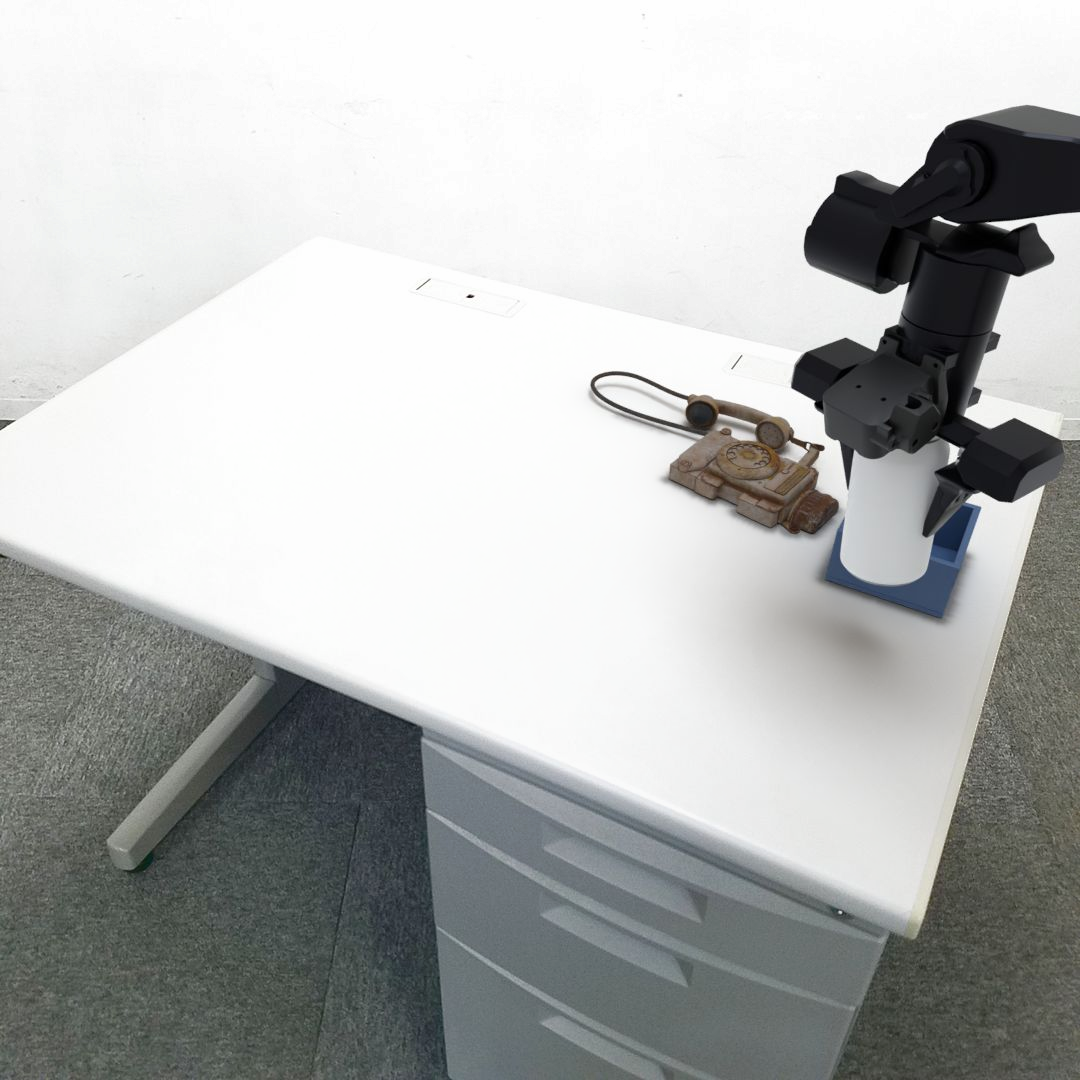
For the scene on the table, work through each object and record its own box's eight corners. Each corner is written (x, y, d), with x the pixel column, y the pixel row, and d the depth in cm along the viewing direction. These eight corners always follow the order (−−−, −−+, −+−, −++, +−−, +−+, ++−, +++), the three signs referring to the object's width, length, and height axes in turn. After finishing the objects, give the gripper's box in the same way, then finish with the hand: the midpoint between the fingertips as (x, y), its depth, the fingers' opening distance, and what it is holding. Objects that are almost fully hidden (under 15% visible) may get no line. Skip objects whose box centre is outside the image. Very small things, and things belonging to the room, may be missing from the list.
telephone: (619, 371, 116) (621, 339, 113) (875, 475, 99) (884, 441, 96) (537, 424, 107) (537, 391, 105) (802, 548, 90) (810, 512, 88)
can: (830, 577, 73) (849, 437, 67) (848, 535, 78) (868, 400, 72) (919, 597, 71) (947, 452, 64) (933, 551, 76) (960, 413, 69)
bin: (941, 618, 82) (959, 568, 79) (824, 579, 86) (837, 530, 83) (964, 554, 89) (981, 506, 86) (854, 521, 93) (867, 473, 90)
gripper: (755, 295, 65) (724, 487, 74) (1000, 413, 53) (925, 623, 62) (864, 261, 70) (822, 444, 79) (1110, 361, 58) (1025, 562, 67)
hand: (889, 511), depth 72 cm, fingers closed on can, 6 cm apart
